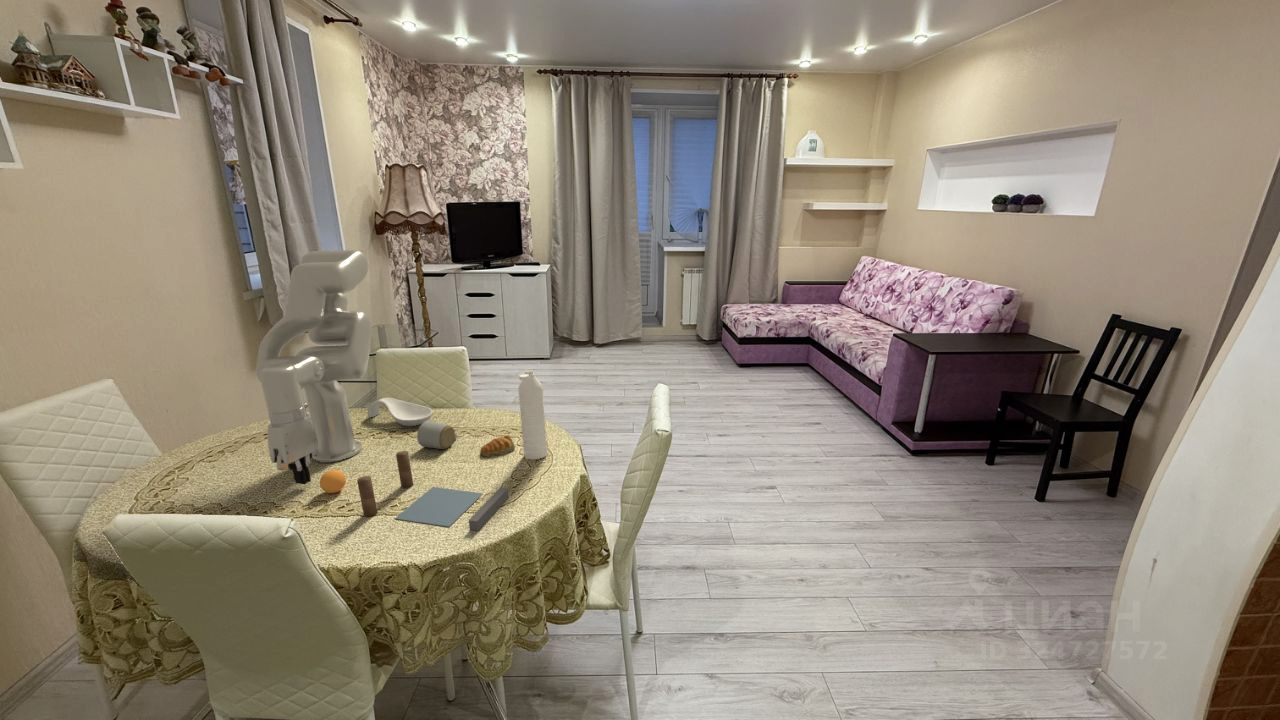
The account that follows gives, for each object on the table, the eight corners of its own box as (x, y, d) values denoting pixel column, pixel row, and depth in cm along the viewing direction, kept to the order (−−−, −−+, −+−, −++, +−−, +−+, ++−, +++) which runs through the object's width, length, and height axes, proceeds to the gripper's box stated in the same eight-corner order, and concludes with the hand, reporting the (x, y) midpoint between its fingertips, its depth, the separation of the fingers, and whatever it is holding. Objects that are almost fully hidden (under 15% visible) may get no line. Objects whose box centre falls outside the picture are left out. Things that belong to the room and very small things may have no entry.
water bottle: (528, 449, 152) (521, 366, 144) (550, 450, 151) (544, 367, 144) (518, 463, 143) (510, 376, 136) (541, 464, 143) (534, 377, 135)
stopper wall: (469, 530, 114) (468, 520, 114) (501, 496, 127) (500, 487, 127) (478, 531, 114) (476, 521, 113) (508, 497, 127) (507, 488, 126)
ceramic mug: (442, 453, 150) (439, 428, 148) (418, 450, 152) (414, 426, 150) (464, 438, 160) (461, 415, 158) (441, 436, 162) (438, 412, 160)
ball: (316, 496, 129) (312, 475, 128) (334, 484, 134) (330, 464, 133) (335, 498, 128) (331, 478, 126) (352, 487, 133) (348, 467, 131)
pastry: (487, 461, 146) (485, 448, 145) (476, 453, 151) (474, 441, 150) (517, 450, 152) (516, 438, 151) (505, 443, 157) (504, 431, 156)
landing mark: (395, 519, 119) (394, 518, 119) (432, 487, 132) (432, 486, 132) (449, 527, 116) (449, 526, 116) (482, 494, 129) (482, 493, 129)
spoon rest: (441, 418, 175) (438, 398, 173) (416, 433, 165) (412, 411, 163) (385, 410, 183) (382, 391, 181) (358, 423, 172) (354, 403, 170)
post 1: (361, 516, 120) (354, 481, 118) (369, 509, 123) (363, 475, 120) (371, 518, 120) (364, 482, 117) (380, 511, 122) (373, 476, 120)
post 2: (398, 487, 132) (393, 455, 130) (406, 482, 135) (401, 450, 132) (408, 489, 132) (403, 456, 129) (415, 483, 134) (410, 451, 132)
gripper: (301, 402, 135) (315, 466, 141) (247, 425, 122) (264, 495, 127) (325, 404, 133) (338, 469, 139) (272, 428, 120) (289, 499, 125)
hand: (303, 482), depth 133 cm, fingers closed
